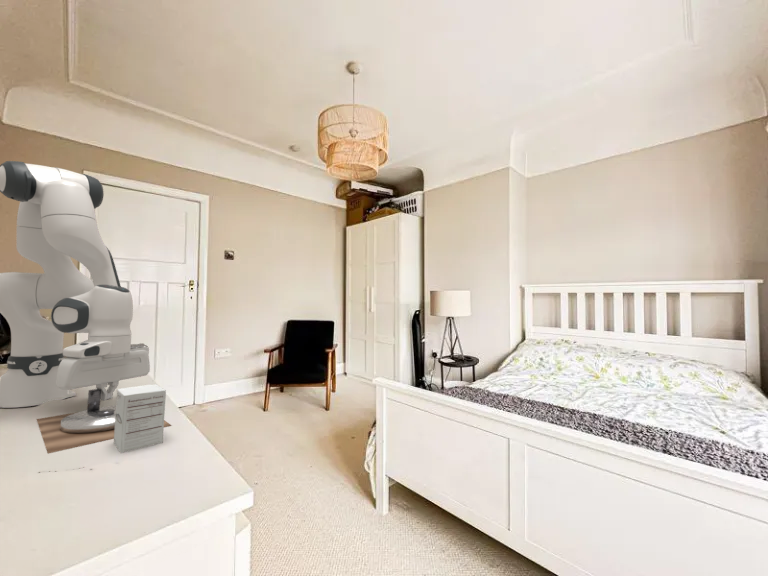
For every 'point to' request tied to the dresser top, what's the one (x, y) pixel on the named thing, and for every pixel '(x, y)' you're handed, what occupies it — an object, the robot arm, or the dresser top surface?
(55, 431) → the base board
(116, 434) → the supplement box
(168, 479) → the dresser top surface
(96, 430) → the dial
